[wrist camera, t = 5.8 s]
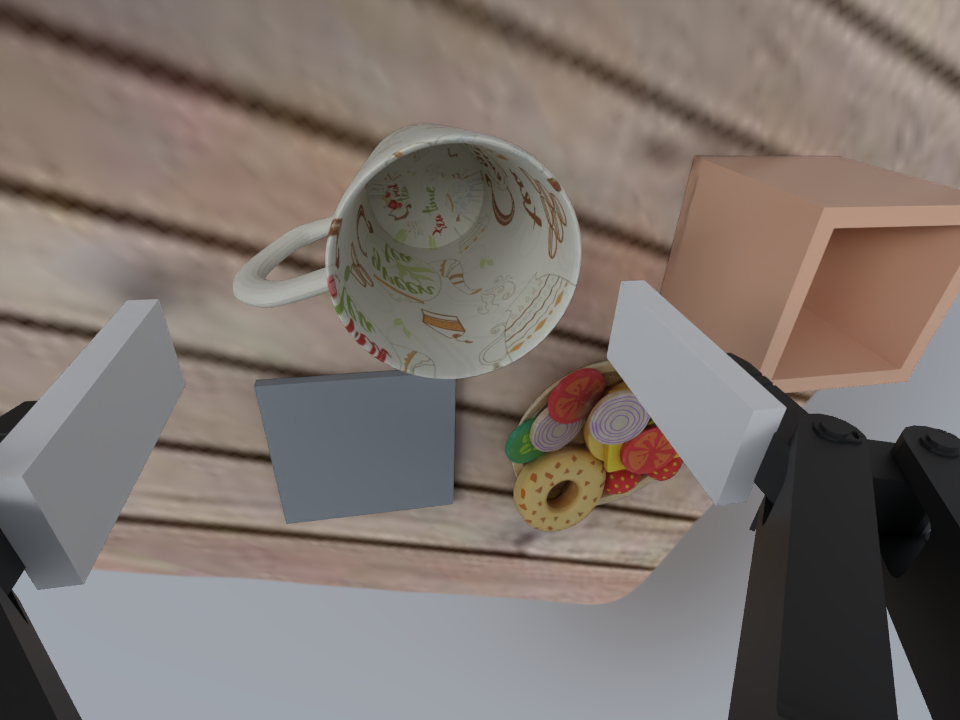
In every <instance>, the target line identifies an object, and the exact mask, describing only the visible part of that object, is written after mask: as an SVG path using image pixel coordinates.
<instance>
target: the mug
mask: <svg viewBox="0 0 960 720" xmlns="http://www.w3.org/2000/svg"><path fill="white" fill-rule="evenodd" d="M326 236H328V238H327V244H326V254H325V268H323V269H320V270H317V271H314V272H311V273H308V274H305V275H302V276H299V277H295V278H292V279H289V280H283V281H269V280H266V279H265V278H266V276H267V275H268V274H269V272H270V271H271V270H272V269H273V268H274V267H276V266H277V265H278V264H279V263H280V262H281V261H283V260H284V259H285V258H286V257H287V256H289V255H290V254H291V253H293V252H294V251H296V250H297V249H299V248H301V247H303V246H305V245H308V244H310V243H312V242H314V241H316V240H319V239H321V238H323V237H326ZM581 259H582V244H581V234H580V229H579V224H578V220H577V217H576V214H575V211H574V208H573V206H572V203H571V201H570V199H569V197H568V195H567V193H566V192H565V190H564V189H563V187H562V186H561V184H560V183H559V181H558V180H557V179H556V178H555V176H554V175H553V174H552V173H551V172H550V171H549V170H548V169H547V168H546V167H545V166H544V165H543V164H542V163H541V162H539V161H538V160H537V159H536V158H535V157H533V156H532V155H531V154H529V153H528V152H526V151H525V150H523V149H521V148H519V147H517V146H516V145H514V144H511V143H509V142H507V141H505V140H502V139H500V138H497V137H494V136H491V135H487V134H483V133H478V132H473V131H468V130H463V129H458V128H454V127H449V126H444V125H438V124H429V123H423V124H414V125H410V126H406V127H403V128H401V129H399V130H397V131H395V132H393V133H392V134H390V135H389V136H387V137H386V138H385V139H384V140H382V141H381V142H380V143H379V144H378V146H377V147H376V148H375V149H374V151H373V152H372V153H371V155H370V156H369V158H368V159H367V161H366V162H365V164H364V165H363V166H362V168H361V169H360V171H359V172H358V174H357V175H356V177H355V178H354V180H353V181H352V183H351V184H350V185H349V187H348V188H347V190H346V191H345V193H344V195H343V197H342V199H341V201H340V202H339V204H338V207H337V209H336V212H335V214H334V216H332V217H328V218H324V219H321V220H317V221H313V222H310V223H306V224H303V225H301V226H298V227H296V228H294V229H292V230H290V231H289V232H287V233H286V234H284V235H283V236H281V237H280V238H278V239H277V240H276V241H274V242H273V243H271V244H270V245H269V246H267V247H266V248H265V249H263V250H262V251H261V252H260V253H258V254H257V255H256V256H254V257H253V258H252V259H251V260H250V261H248V262H247V263H246V264H245V265H244V266H243V267H242V268H241V269H240V271H239V272H238V273H237V275H236V277H235V279H234V282H233V292H234V295H235V296H236V297H237V298H238V299H239V300H240V301H241V302H243V303H245V304H248V305H252V306H256V307H265V308H267V307H277V306H282V305H286V304H290V303H294V302H297V301H300V300H303V299H307V298H310V297H313V296H316V295H319V294H322V293H325V292H328V291H329V293H330V296H331V300H332V302H333V305H334V307H335V310H336V312H337V314H338V316H339V318H340V320H341V321H342V323H343V324H344V326H345V327H346V329H347V330H348V332H349V333H350V334H351V335H352V337H353V338H354V339H355V340H356V341H357V342H358V343H359V344H360V345H361V346H362V347H363V348H364V349H365V350H366V351H368V352H369V353H370V354H371V355H373V356H374V357H376V358H377V359H379V360H380V361H382V362H383V363H385V364H387V365H389V366H391V367H393V368H395V369H398V370H400V371H403V372H406V373H409V374H412V375H416V376H421V377H427V378H434V379H460V378H467V377H474V376H478V375H482V374H485V373H489V372H492V371H494V370H497V369H500V368H502V367H504V366H506V365H509V364H510V363H512V362H514V361H516V360H518V359H519V358H521V357H522V356H524V355H525V354H527V353H528V352H529V351H531V350H532V349H533V348H535V347H536V346H537V345H538V344H539V343H540V342H541V341H542V340H543V339H545V337H546V336H547V335H548V334H549V333H550V332H551V331H552V330H553V328H554V327H555V326H556V325H557V323H558V322H559V321H560V319H561V317H562V316H563V314H564V313H565V311H566V309H567V307H568V305H569V303H570V301H571V299H572V297H573V294H574V292H575V289H576V285H577V282H578V278H579V273H580V268H581Z"/></svg>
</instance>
